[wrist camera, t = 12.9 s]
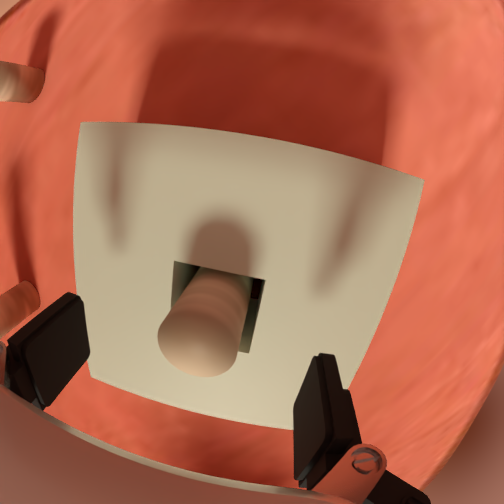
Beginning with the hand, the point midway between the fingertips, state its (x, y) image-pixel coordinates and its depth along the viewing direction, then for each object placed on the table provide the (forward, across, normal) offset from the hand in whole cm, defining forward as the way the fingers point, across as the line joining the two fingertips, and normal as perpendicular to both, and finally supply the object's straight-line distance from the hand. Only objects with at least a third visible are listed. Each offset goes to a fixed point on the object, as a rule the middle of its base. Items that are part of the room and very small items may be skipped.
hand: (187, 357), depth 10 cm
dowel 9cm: (+10, 0, 0) cm, 10 cm away
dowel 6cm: (+10, +20, -12) cm, 25 cm away
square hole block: (+10, 0, 0) cm, 10 cm away
